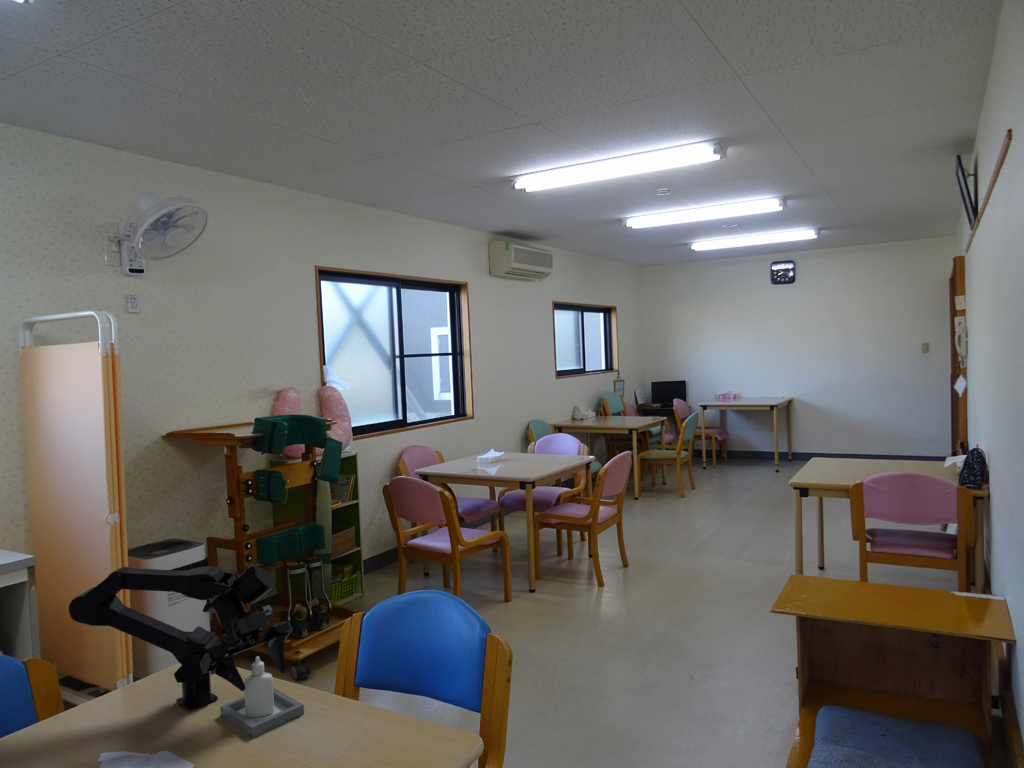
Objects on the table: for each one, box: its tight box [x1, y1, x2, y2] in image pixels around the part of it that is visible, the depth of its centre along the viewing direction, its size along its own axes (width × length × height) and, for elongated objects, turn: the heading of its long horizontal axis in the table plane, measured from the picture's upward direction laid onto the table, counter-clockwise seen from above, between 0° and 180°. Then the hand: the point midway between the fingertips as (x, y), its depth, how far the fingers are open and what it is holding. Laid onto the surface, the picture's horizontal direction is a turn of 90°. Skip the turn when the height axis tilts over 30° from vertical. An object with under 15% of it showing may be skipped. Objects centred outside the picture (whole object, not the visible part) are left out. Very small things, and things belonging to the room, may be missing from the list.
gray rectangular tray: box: [219, 687, 305, 739], centre depth 144 cm, size 13×11×2 cm
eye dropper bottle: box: [243, 655, 274, 718], centre depth 144 cm, size 4×6×12 cm
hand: (264, 681), depth 143 cm, fingers open, 9 cm apart
